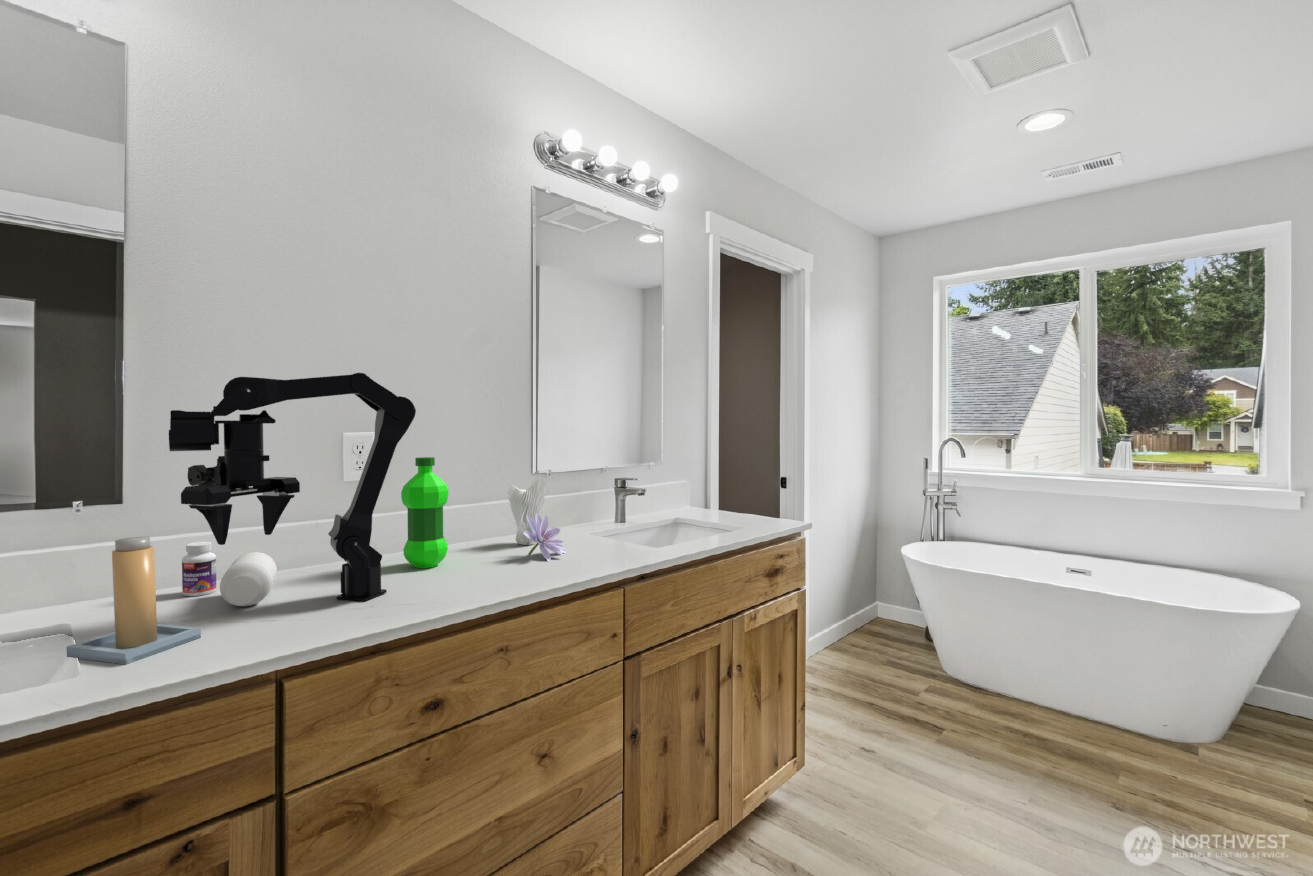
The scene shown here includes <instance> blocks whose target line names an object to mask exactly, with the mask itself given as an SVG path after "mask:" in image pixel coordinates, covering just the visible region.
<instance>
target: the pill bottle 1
mask: <svg viewBox="0 0 1313 876" xmlns="http://www.w3.org/2000/svg"><path fill="white" fill-rule="evenodd" d="M211 550H212V542H211V541H195V542H194V541H193V542H190V543H187V544H186V545H185V551H186V553H187V554H185V555H184V556H183V557H182V559H181V574H182V575H181V577H182V578H181V581H182V582H181V584H182V585H181V590H182V592H181V593H182V595H183V596H185V597H199V596H200V597H201V596H205V595H210V594H213V593H215V592H216V591H217V555H216V554H215V553H214V552H211Z"/></svg>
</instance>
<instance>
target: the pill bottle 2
mask: <svg viewBox="0 0 1313 876" xmlns="http://www.w3.org/2000/svg"><path fill="white" fill-rule="evenodd" d="M277 568H278V567H277V565H276V562H275V561H274V559H273V558H272V557H271V556H269V555H268V554H266V553H263V552H257V551H254V552H252V551H251V552H247V553H244V554H243V555H241V556H239V557H238V558H236V559H235V560H234V561H233V562H232V563H231V564H230V566H229V567H228V569H227V570H226V571H225V573H224V574H223V576H222V577H221V578H220V583H219V592H220V595H221V597H222V598H223V599H224V601H226V602H227V603H229V604H230V605H232V606H236V607H243V608H244V607H252V606H254V605H256V604H258V603H260V602H262V601H263V600H264V599H265V598H266V597H267V596H268V595H269V593H270V590H271V588H272V587H273V584H274V582H275V579H276V577H277V573H278V572H277V571H278V569H277Z"/></svg>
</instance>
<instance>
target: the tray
mask: <svg viewBox="0 0 1313 876" xmlns="http://www.w3.org/2000/svg"><path fill="white" fill-rule="evenodd" d="M200 638H202V628H201V627H195V626H188V625H187V626H186V625H176V624H169V623H168V624H166V623H158V622H157V640H156V641H154V642H151V643H148V644H145V645H142V646H138V647H132V648H117V647H116V640H115V631H112V632H109V633H106V634H103V635H100V636H97V637H93V638H90V639H86V640H84V641H80V642H77V643H73V644H71V645H68V646H66V657H67V658H73V659H81V660H89V661H97V662H105V663H111V664H120V665H121V664H122V665H128V664H130V663H134V662H136V661H139V660H142V659H144V658H147V657H150V656H153V655H156V654H158V653H162V652H164V651H167V650H170V649H172V648H173V649H174V648H175V647H177V646H181V645H183V644H186V643H188V642H192V641H195V640H198V639H200Z"/></svg>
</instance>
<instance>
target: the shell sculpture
mask: <svg viewBox="0 0 1313 876" xmlns="http://www.w3.org/2000/svg"><path fill="white" fill-rule="evenodd" d="M546 483H547V482H546V480H544V478H541V477H540V478H539V477H537V478H535V479H534V480H533V482H532V483H531V485H530V486H529V487H528V488H527V489H521V488H518V487H517V486H516V485H514V484H509V488H508V491H507V493H508V501H509V506H510V509H511V512H512V515H513V518H514V520H515V521H514V522H515V523H516V526H517V530H516V535H515V542H516V543H517V544H520V545H524V546H530V545H536V544H537V542H533V541H531V540H529V539H528V538H527V537H526V536H525V535H524V533H523V532H524V531H530V532H531V533H532V534H533V532H532V531H531V529H530V527H529V524H528V522H527V518H526V516H529V517H530V518H531V519H532V520H533V522H534V524H535V515H536V513H538V514H539V515H540V514H541V513H542V512H541V511H542V508H543V506H544V504H545V497H546V494H547V490H546ZM533 535H534V534H533Z"/></svg>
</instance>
